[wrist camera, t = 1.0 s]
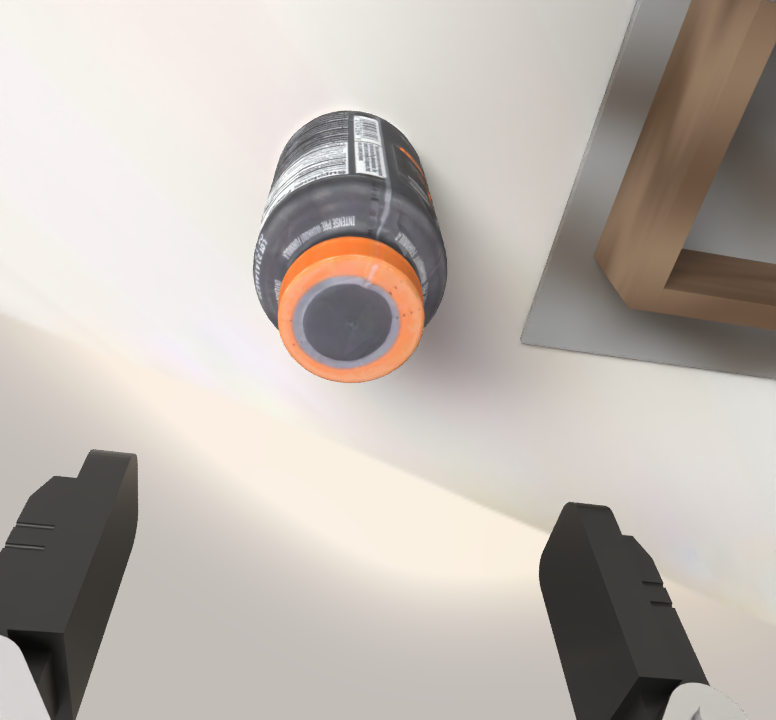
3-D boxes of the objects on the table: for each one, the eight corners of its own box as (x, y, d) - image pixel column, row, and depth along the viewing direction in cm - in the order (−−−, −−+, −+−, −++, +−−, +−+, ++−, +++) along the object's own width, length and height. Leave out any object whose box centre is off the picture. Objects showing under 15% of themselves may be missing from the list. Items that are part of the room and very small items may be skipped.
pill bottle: (424, 246, 30) (460, 409, 20) (286, 255, 30) (256, 422, 20) (422, 101, 26) (462, 216, 17) (265, 111, 26) (218, 231, 17)
